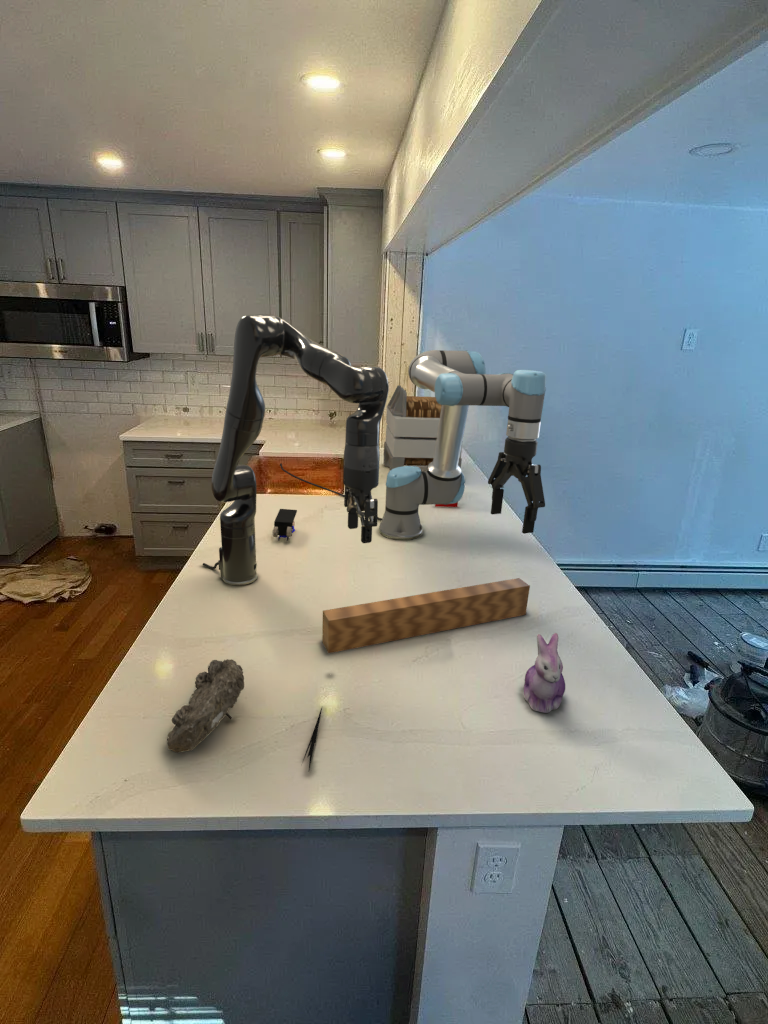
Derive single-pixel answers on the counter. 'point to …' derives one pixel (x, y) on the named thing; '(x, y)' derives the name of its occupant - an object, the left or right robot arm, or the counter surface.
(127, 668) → the counter surface
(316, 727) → the feather
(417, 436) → the grey and brown box
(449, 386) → the right robot arm
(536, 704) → the figurine
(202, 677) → the fossil
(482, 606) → the beam
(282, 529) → the figurine character
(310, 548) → the counter surface
